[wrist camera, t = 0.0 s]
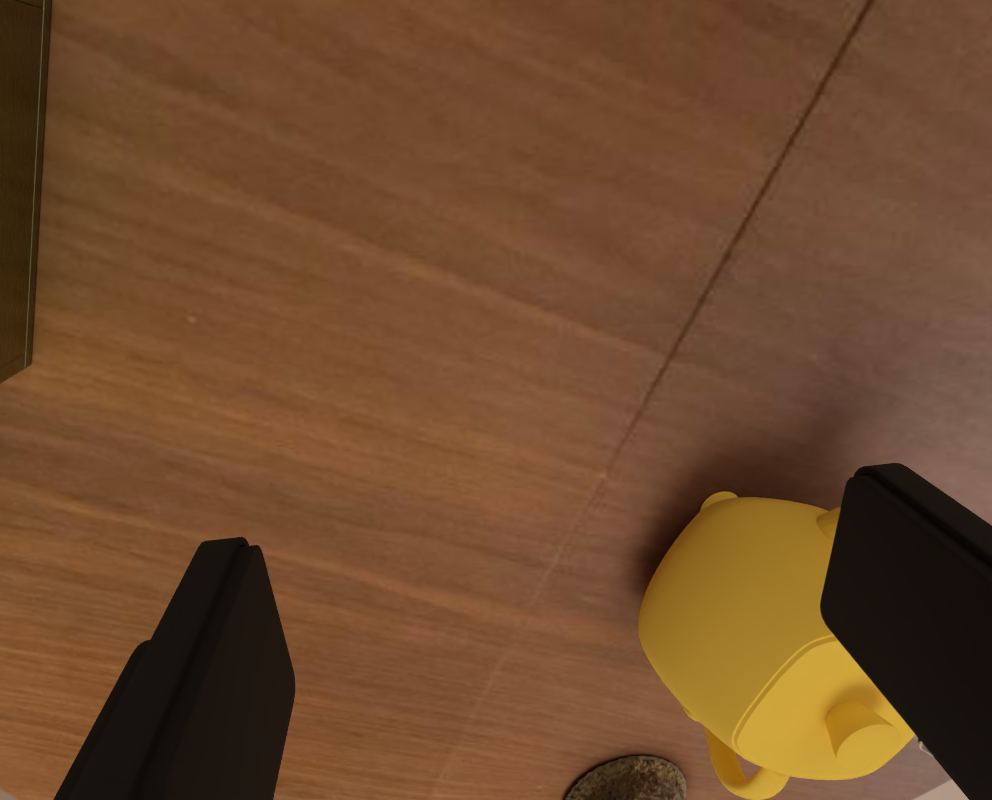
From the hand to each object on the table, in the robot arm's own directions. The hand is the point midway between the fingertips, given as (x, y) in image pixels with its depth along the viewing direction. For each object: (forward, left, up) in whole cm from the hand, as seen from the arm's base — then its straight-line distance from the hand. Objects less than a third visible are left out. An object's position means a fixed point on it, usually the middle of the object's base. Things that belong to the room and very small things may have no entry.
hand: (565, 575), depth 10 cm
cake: (+41, +9, -21) cm, 47 cm away
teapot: (+18, +16, -21) cm, 32 cm away
